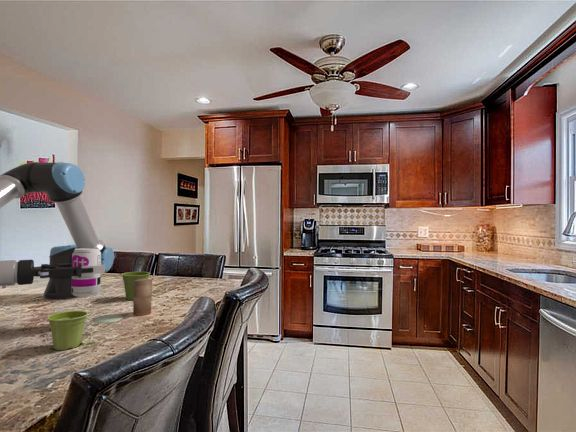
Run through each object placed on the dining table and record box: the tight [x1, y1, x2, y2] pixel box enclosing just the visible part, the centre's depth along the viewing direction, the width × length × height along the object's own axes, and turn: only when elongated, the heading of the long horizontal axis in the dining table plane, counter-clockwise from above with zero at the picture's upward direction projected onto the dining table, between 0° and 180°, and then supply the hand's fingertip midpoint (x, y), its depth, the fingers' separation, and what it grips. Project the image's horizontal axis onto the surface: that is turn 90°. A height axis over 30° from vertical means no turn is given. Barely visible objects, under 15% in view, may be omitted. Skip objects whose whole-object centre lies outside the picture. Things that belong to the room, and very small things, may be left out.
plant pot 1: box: [46, 310, 89, 351], centre depth 90 cm, size 9×9×9 cm
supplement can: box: [71, 248, 102, 297], centre depth 109 cm, size 8×8×15 cm
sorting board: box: [92, 309, 157, 324], centre depth 115 cm, size 16×20×1 cm
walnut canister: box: [132, 278, 153, 316], centre depth 118 cm, size 6×6×12 cm
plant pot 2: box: [120, 271, 151, 301], centre depth 146 cm, size 12×12×11 cm
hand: (102, 267), depth 112 cm, fingers closed on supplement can, 8 cm apart
